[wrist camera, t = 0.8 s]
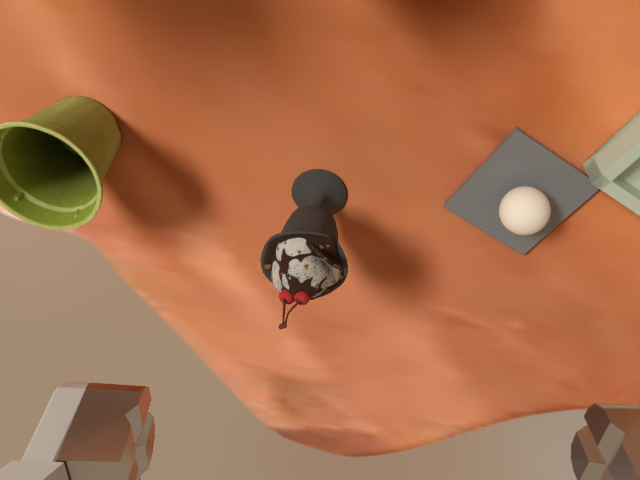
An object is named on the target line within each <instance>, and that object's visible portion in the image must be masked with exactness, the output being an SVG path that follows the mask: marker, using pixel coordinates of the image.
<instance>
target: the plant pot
mask: <svg viewBox="0 0 640 480" xmlns="http://www.w3.org/2000/svg"><path fill="white" fill-rule="evenodd" d="M120 143H121V133H120V131H119V129H118V126H117V123H116V120H115V118H114V116H113V115H112V113H111V112H110V111H109V110H108V109H107V108H106V107H104V106H103V105H102V104H100V103H99V102H97V101H95V100H93V99H90V98H87V97H82V96H77V97H68V98H63V99H62V100H60V101H58V102H56V103H54V104H53V105H51V106H49V107H47V108H45V109H44V110H42V111H40V112H38V113H36V114H34V115H33V116H31V117H29V118H27V119H25V120H20V121H9V122H4V123H1V124H0V204H1V205H2V206H3V207H4V208H5V209H7V210H8V211H9V212H11V213H12V214H13V215H15V216H17V217H18V218H20V219H22V220H24V221H26V222H29V223H31V224H33V225H36V226H39V227H44V228H48V229H55V230H66V229H73V228H77V227H79V226H82V225H84V224H86V223H88V222H89V221H90V220H91V219H92V218H93V217H94V216H95V215H96V213H97V212H98V210H99V208H100V205H101V202H102V196H103V181H104V179H105V177H106V175H107V172H108V170H109V168H110V166H111V164H112V161H113V159H114V157H115V155H116V153H117V151H118V149H119V146H120Z"/></svg>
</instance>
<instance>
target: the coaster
mask: <svg viewBox="0 0 640 480" xmlns="http://www.w3.org/2000/svg"><path fill="white" fill-rule="evenodd" d="M522 186H529V187H533V188H536V189H538V190H540V191H541V192H542V193H544V194H545V196H546V197H547V198H548V200H549V203H550V207H551V214H550V218H549V220H548V222H547V224H546V225H545V226H544V227H543V228H542V229H541V230H540V231H538V232H536V233H534V234H531V235H518V234H515V233H513V232H511V231H509V230H508V229H507V228H506V227H505V226H504V225H503V223H502V222H501V219H500V216H499V206H500V203H501V201H502V199H503V197H504V196H505V195H506V194H507V193H508V192H509V191H511V190H512V189H515V188H517V187H522ZM598 190H599V188H597V187H596V186H594V185H593V184H592V183H591V181H590V179H589V177H588V175H587V174H585V173H584V172H582V171H581V170H579V169H578V168H576V167H575V166H574V165H572V164H571V163H569V162H568V161H566V160H565V159H563V158H562V157H560V156H559V155H557V154H556V153H554V152H553V151H551V150H550V149H548V148H547V147H545V146H544V145H543V144H541V143H540V142H538V141H537V140H535V139H534V138H532V137H531V136H529V135H528V134H526V133H525V132H523V131H522V130H520V129H519V128H517V127H516V128H515V130H514V131H513V132H512V133H511V134H510V135H509V136H508V137H507V138H506V139H505V140H504V141H503V142H502V143H501V144H500V145H499V146H498V147H497V149H496V150H495V151H494V152H493V153H492V154H491V155H490V156H489V157H488V158H487V159H486V160H485V161H484V162H483V163H482V164H481V165H480V166H479V167H478V169H477V170H476V171H475V172H474V173H473V174H472V175H471V176H470V177H469V178H468V179H467V180H466V181H465V182H464V183H463V184H462V185H461V186H460V188H459V189H458V190H457V191H456V192H455V193H454V194H453V195H452V196H451V197H450V198H449V199H448V200H447V201H446V202H445V203H444V207H445V208H446V209H448V210H450V211H451V212H453V213H455V214H456V215H458V216H460V217H461V218H463V219H464V220H466V221H468V222H469V223H471V224H473V225H474V226H476V227H478V228H479V229H481V230H483V231H484V232H486V233H487V234H489V235H491V236H492V237H494V238H496V239H497V240H499V241H501V242H502V243H504V244H505V245H507V246H509V247H510V248H512V249H514V250H515V251H517V252H519V253H520V254H522V255H524V254H525V253H527V252H528V251H529V250H530V249H531V248H532V247H533V246H535V245H536V244H537V243H538V242H539V241H540V240H541V239H543V238H544V237H545V236H546V235H547V234H548V233H550V232H551V231H552V230H553V229H554V228H555V227H556V226H558V225H559V224H560V223H561V222H562V221H563V220H564V219H566V218H567V217H568V216H569V215H570V214H571V213H572V212H574V211H575V210H576V209H577V208H578V207H579V206H580V205H582V204H583V203H584V202H585V201H586V200H587V199H589V198H590V197H591V196H592V195H593V194H594V193H595V192H597V191H598Z"/></svg>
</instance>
